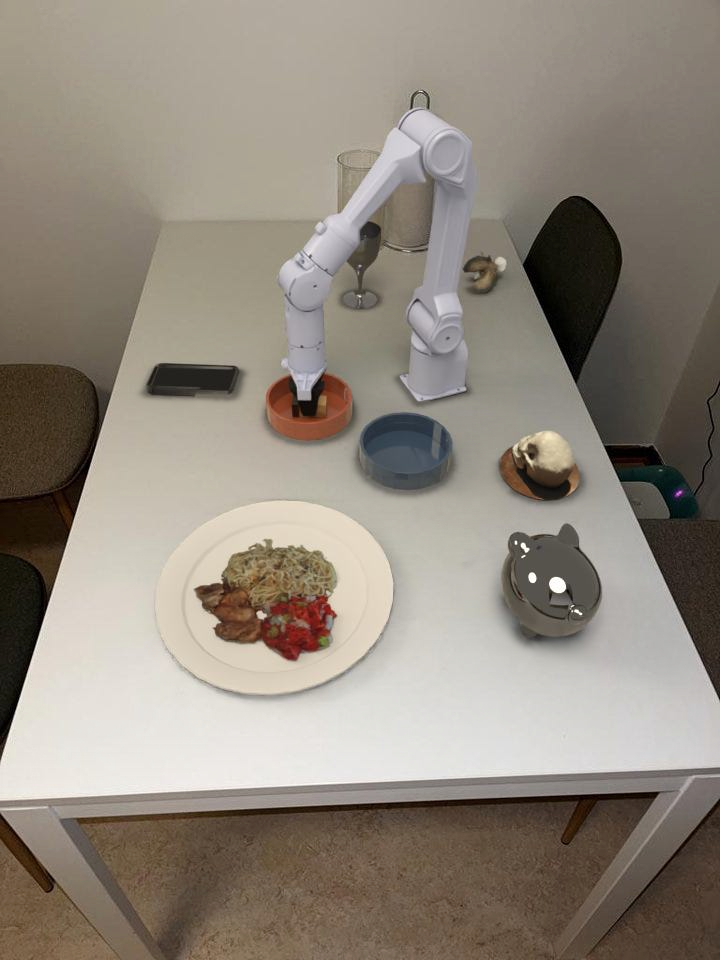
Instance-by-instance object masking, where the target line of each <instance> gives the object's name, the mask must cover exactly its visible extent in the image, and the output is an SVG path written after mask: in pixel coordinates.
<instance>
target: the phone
mask: <svg viewBox="0 0 720 960" xmlns="http://www.w3.org/2000/svg"><path fill="white" fill-rule="evenodd" d="M239 374H240V369H239V367H238V366H237V365H228V364H201V363H199V364H198V363H173V362H159V363H157V364H155V366H154V367H153V369H152V371H151V374H150V376H149V378H148V380H147V382H146V384H145V387H146V390H147V393H148V394H150V395H162V396H166V395H167V396H187V397H189V396H190V397H195V396H196V395H208V396H209V395H210V396H211V395H212V396H229V395H231V394H233V393H234V391H235V387H236V384H237V381H238V378H239Z"/></svg>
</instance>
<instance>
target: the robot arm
mask: <svg viewBox="0 0 720 960" xmlns="http://www.w3.org/2000/svg"><path fill="white" fill-rule="evenodd" d="M473 147H474V144H473V142H472V141H471V140H470V138H468V136H466V134H464V133H463V132H462V130H460V129H459V128H457V127H455V126H452V125H450V124H449V123H447V122H446V121H445V120H443V119H441V118H440V117H438V116H437V115H435V113H434V112H433V111H431V110H430V109H429V108H426V107H422V106H421V107H419V106H418V107H414V108H411V109H410V110H407V112H405V113H404V114H403V115H402V117H401V118H400V120H399V121H398V123H397V126H395V127H394V128H393V129H392V130H391V131H390V132H389V133H388V134H387V137H386V140H385V142H384V145H383V149H382V150H381V153H380V155H379V156H378V158H376V161H375V162H374V163H373V165H372V167H371V168H370V170H369V171H368V173H367V174H366V175H365V177H364V178H363V179H362V181H361V183H360V184H359V186H358V187H357V188H356V190H355V191H354V193H353V195H352V196H351V197H350V199H349V201H348V202H347V203H346V205H345V206H344V208H342V211H341V212H340V213H335V214H330V215H327V216H326V218H325V219H324V220H323V222H322V220H320V221H319V222H318V223H317V224H316V225H315V227H314V230H315V232H314V234H313V235H312V236H311V237H310V239H309V240H308V241H307V243H305V245H304V246H303V248H302V249H301V250H300V252H299V251H297V252H296V254H295V255H294V257H292V258H291V259H288V260H287V261H285V263H283V265H282V267H281V268H280V269H279V271H278V273H279V275H276V282H277V284H278V286H279V288H280V289H281V290H282V291H283V292H284V294H283V298H284V299H283V300H284V319H285V321H284V322H285V331H286V332H285V333H286V342H287V344H286V345H287V357H284V358H282V359H281V362H280V363H281V364H280V366H281V369H282V370H288V371H289V374H291V376H292V378H289V384H288V385H289V390H290V392H291V393H292V394H293V395H294V396H295V398H296V399H297V402H298V404H299V407H300V410H301V413H302V415H303V416H315V415H316V411H317V405H318V400H319V397H320V395H321V393H322V392H323V390H324V387H325V381H321V379H322V377H323V375H324V373H326V371H327V367H328V364H327V358H326V341H325V313H324V312H325V311H324V303H325V302H327V300H328V299H329V296H330V291H331V284H332V283H333V279H334V277H335V276H336V275H337V274H338V273H339V271H340V270H341V268H342V267H343V266H344V265H345V263H347V259H348V258H349V257H350V256H351V254H352V253H353V252H354V251H355V249H356V248H357V247H358V246H359V244H360V229H361V228H362V227H363V226H364V225H365V224H366V223H367V222H368V221H370V220H371V219H372V217H373V216H374V215H375V214H376V213H377V212H378V210H379V209H381V207H383V205H384V204H385V203H386V202H387V201H388V200H389V198H390V197H391V196H392V195H393V194H394V193H395V192H396V191H397V190H398V188H400V187H401V186H406V185H418V184H425V183H427V179H426V176H425V173H427V174H428V175H429V177H431V178H432V179H433V180H434V182H436V192H435V200H434V206H433V213H432V220H431V226H430V234H429V239H428V245H427V253H426V258H425V259H426V260H425V265H424V272H423V273H424V274H423V280H422V284H421V285H420V286H418V287H416V288H415V289H414V290H413V291H414V292H413V296H412V299H411V301H410V303H409V304H408V306H407V308H406V310H405V320H406V323H407V324H408V326H409V327H411V337H410V353H409V367H408V373H405V374H401V375H399V378H400V380H401V381H402V383H403V384H404V385H405V387H406V388H407V389H408V390H409V392H410V393H411V395H412V396H413V397H414V398H415V400H416V401H417V402H423V401H427V400H428V401H433V400H436V399H441V398H445V397H449V396H453V395H457V394H461V393H465V392H467V387H466V386H465V384H466V377H467V372H468V371H467V369H468V363H469V351H468V346H467V344H466V342H465V340H464V336H465V327H464V325H463V317H464V311H463V308H462V305H461V302H460V299H459V296H458V292H457V291H458V286H459V283H460V282H459V281H460V276H461V271H462V265H463V260H464V255H465V254H464V253H465V249H466V244H467V240H468V239H467V238H468V233H469V229H470V223H471V217H472V212H473V207H474V202H475V201H474V200H475V195H476V192H477V191H476V190H477V185H478V179H479V177H478V176H479V174H478V169H477V167H476V163H475V160H474V156H473Z"/></svg>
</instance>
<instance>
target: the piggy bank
mask: <svg viewBox="0 0 720 960" xmlns="http://www.w3.org/2000/svg"><path fill="white" fill-rule="evenodd" d="M507 550H508V553H507V555H506V556H505V558H504V561H503V564H502V568H501V574H500V576H501V577H500V581H501V588H502V593H503V596H504V599H505V602H506V604H507V605H508V608H509V610H510V612H511V613H512V615H513V616H514V617H515V618H516V619H517V621H518V622H519V623H520V625H521V626H520V630H521V631H520V632H521V634H522V635H523V636H524V638H528V639H532V638H535V636H537V635H541V636H543V637H548V638H549V637H550V638H562V637H567V636H571V635H573V634H575V633H577V632H579V631H581V630H582V629H584V628H585V627H586V626H588V625H589V624H590V623H591V621H593V619H594V618H595V617H596V615H597V614H598V611H599V609H600V608H601V604H602V599H603V585H602V580H601V577H600V574H599V572H598V570H597V568H596V566H595V565H594V563H593V562H592V560H591V559H590V558H589V556H588V555H587V554H586V553H585V552H584V551H583V549H581V547H580V536H579V534H578V532H577V530H576V529H575V527H574V526H572V525H571V524H570V523H564V524H563V525H561V527H560V529H559V531H558V533H557V535H556V534H551V533H539V534H538V533H537V534H534V535H531V536H530V535H528V534H527V533H525V532H522V531H515V532H513V533H511V534H510V536H509V538H508V539H507Z"/></svg>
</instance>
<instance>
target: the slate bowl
mask: <svg viewBox="0 0 720 960" xmlns="http://www.w3.org/2000/svg"><path fill="white" fill-rule="evenodd" d="M453 442H454V441H453V438H452V436H451V433H450V432H449V431H448V429H447V428H446V427H445V426H444V425H443V424H442V423H440V421H438V420H436V419H434V418H432V417H430V416H427V415H424V414H420V413H417V412H407V411H402V412H401V411H400V412H390V413H387V414H383V415H381V416H378V417H376V418H374V419H373V420H371V421H370V422H368V424H366V425H365V427H364V428H363V429H362V431H361V433H360V437H359V448H358V449H359V456H358V457H359V463H360V466H361V468H362V470H363V472H364V473H365V474H366V475H367V476H368V477H369V478H370V479H371V480H373V481H374V482H375V483H377V484H380V485H382V486H385V487H386V488H390V489H395V490H401V491H413V490H420V489H425V488H427V487H430V486H432V485H434V484H436V485H438V484H440V483H441V482H442V481H443V480H444V479H445V478H446V477H447V475H448V473H449V470H450V467H451V461H452V453H453V444H454V443H453Z"/></svg>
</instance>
